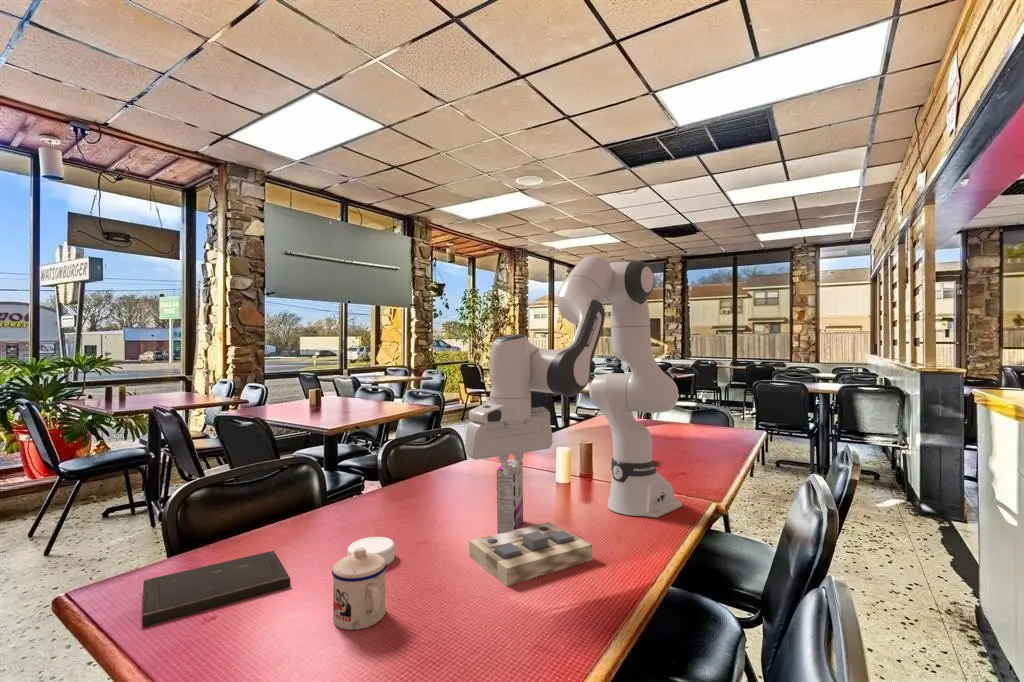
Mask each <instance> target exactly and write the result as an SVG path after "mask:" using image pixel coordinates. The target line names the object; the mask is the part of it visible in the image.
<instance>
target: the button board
mask: <svg viewBox="0 0 1024 682" xmlns="http://www.w3.org/2000/svg"><path fill="white" fill-rule="evenodd" d="M536 531H538V532H540V533H542V534H544V535H545V536H547V537H548V534H551V533H555V532H559V531H564V532H566V533H568V534H570V535H572V536H573V541H571V542H568V543H564V544H560V545H558V544H556V543H555V542H553V541H551V540H549V539H548V548H546V549H542V550H538V551H535V552H532V551H530V550H529V549H527V548H525V547H524V546H523V535H524V534H528V533H532V532H536ZM468 544H469V545H468V547H469V549H468V550H469V551H468V553H469V554H468V555H469V556H470V557H469V558H471V559H472V560H473V561H474V560H475V561H474V562H475V563H477V564H478V566H480V567H482V568H483V569H484V570H486V572H488V573H489V574H490V575H492V576H493V577H495V579H497V580H498V581H499V582H500V583H502V585H504V586H505V587H509V585H510V586H512V585H515V584H519V583H518V582H520V583H523V582H526V581H529V580H531V579H530V578H533V579H535V578H534V577H536V578H538V577H537V576H539V577H541V576H540V575H542V576H544V575H543V574H546V575H549V574H552V573H556V572H558V570H559V571H561V570H565V569H568V568H571V566H572V567H575V566H579V565H582V564H585V563H588V562H591V560H592V561H593V544H592V543H591V542H589V541H587V540H585V539H583V538H581V537H579V536H577V535H575V534H574V533H571V532H569V531H568V530H565V529H563V528H562V527H559V526H557V525H555V524H554V523H552V522H550V521H547V522H544V523H538V524H535V525H531V526H530V525H529V526H526V527H525V526H524V527H522V528H519V529H517V530H513V531H508V532H504V533H500V534H498V533H496V534H491V535H488V536H483V537H481V538H480V537H479V538H476V539H471V540H469V542H468ZM507 544H513V545H514V546H516V547H517V548H519V549H521V555H520V556H516V557H512V558H509V559H505V560H504V559H503V558H501V557H500V556H498V555H497V554H496V553H495V547H499V546H503V545H507ZM584 562H585V563H584ZM581 563H582V564H581ZM555 571H556V572H555ZM551 572H552V573H551ZM548 573H549V574H548ZM528 579H529V580H528ZM525 580H526V581H525ZM522 581H523V582H522Z"/></svg>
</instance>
